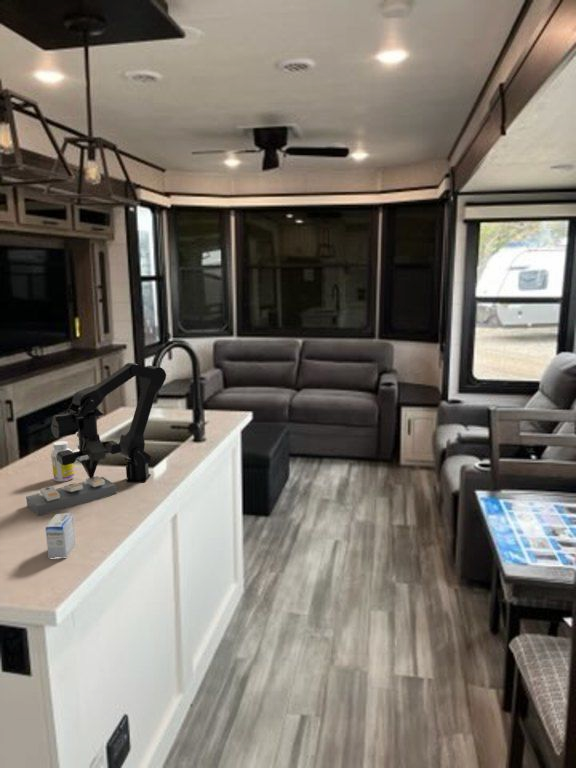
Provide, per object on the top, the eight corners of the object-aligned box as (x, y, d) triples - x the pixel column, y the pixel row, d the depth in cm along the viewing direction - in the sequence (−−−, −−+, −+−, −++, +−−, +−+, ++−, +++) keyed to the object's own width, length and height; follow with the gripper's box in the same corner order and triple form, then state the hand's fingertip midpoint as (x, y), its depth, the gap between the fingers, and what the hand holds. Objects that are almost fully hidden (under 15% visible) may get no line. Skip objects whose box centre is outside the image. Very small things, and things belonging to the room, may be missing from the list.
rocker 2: (86, 482, 181) (85, 478, 180) (97, 479, 183) (96, 475, 183) (93, 487, 176) (93, 483, 176) (105, 484, 178) (104, 480, 178)
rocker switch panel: (103, 485, 188) (102, 475, 188) (116, 493, 181) (115, 483, 180) (27, 506, 173) (25, 495, 172) (38, 516, 165) (37, 504, 165)
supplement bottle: (78, 475, 198) (74, 440, 196) (69, 482, 192) (65, 445, 189) (59, 475, 199) (56, 439, 196) (50, 482, 192) (46, 445, 190)
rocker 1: (40, 492, 171) (40, 488, 171) (52, 489, 174) (52, 485, 173) (47, 501, 167) (47, 497, 167) (60, 497, 170) (59, 494, 169)
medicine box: (58, 545, 147) (54, 513, 146) (76, 544, 148) (72, 512, 146) (48, 560, 140) (44, 527, 138) (67, 559, 140) (63, 526, 138)
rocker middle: (64, 489, 176) (63, 485, 176) (75, 486, 178) (75, 482, 178) (71, 491, 171) (70, 487, 171) (83, 488, 174) (82, 484, 174)
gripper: (67, 444, 166) (71, 493, 170) (127, 431, 178) (129, 478, 182) (53, 434, 175) (57, 482, 178) (112, 423, 187) (114, 468, 190)
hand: (91, 477), depth 182 cm, fingers closed, pressing on rocker 2
